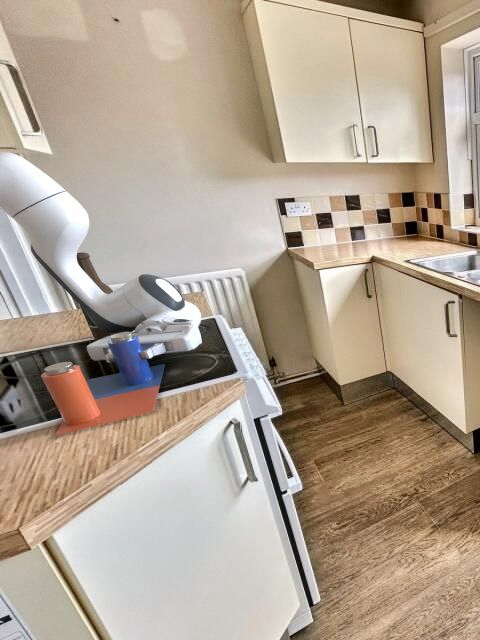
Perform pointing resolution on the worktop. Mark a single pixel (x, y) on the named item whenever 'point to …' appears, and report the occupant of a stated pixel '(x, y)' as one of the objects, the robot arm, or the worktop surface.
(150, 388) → the sorting board
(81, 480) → the worktop surface
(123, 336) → the blue shaker
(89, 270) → the beer bottle
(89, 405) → the terracotta shaker
